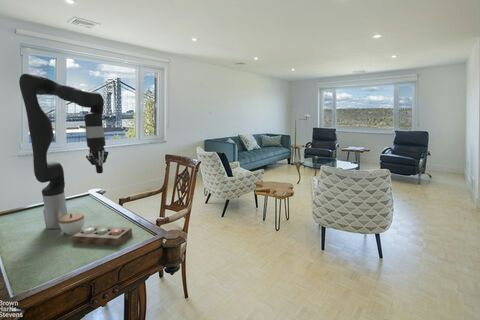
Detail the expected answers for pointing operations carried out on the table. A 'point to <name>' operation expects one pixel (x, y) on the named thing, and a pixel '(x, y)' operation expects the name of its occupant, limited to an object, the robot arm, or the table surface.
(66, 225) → the lidded jar
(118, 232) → the button terracotta
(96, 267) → the table surface
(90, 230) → the button ivory
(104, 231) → the button sage
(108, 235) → the wooden tray
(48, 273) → the table surface
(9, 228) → the table surface
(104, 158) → the robot arm
